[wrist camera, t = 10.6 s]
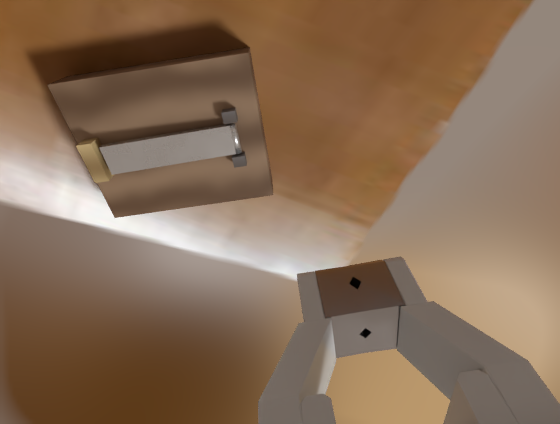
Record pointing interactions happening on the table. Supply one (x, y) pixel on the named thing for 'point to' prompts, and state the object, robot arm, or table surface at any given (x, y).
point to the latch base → (169, 129)
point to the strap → (171, 148)
